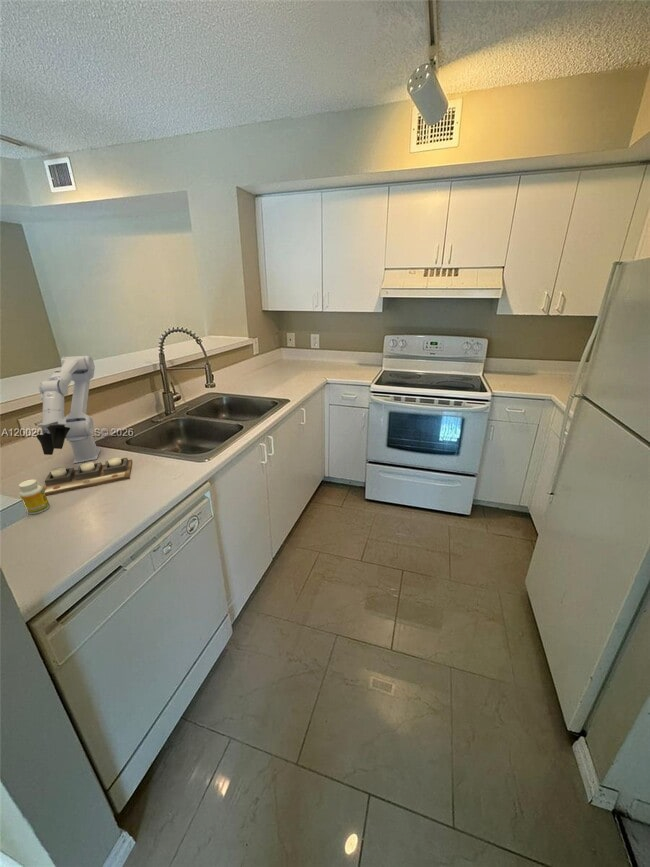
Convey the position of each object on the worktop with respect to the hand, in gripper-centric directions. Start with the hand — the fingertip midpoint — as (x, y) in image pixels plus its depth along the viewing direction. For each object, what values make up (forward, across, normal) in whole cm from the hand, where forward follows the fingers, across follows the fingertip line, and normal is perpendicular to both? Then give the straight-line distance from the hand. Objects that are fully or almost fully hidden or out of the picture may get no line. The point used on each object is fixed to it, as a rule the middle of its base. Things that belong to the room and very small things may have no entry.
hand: (53, 451), depth 110 cm
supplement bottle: (+19, +1, -3) cm, 19 cm away
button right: (+5, +3, +18) cm, 19 cm away
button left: (+7, -7, +5) cm, 11 cm away
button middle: (+6, -2, +11) cm, 13 cm away
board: (+8, -2, +12) cm, 14 cm away
